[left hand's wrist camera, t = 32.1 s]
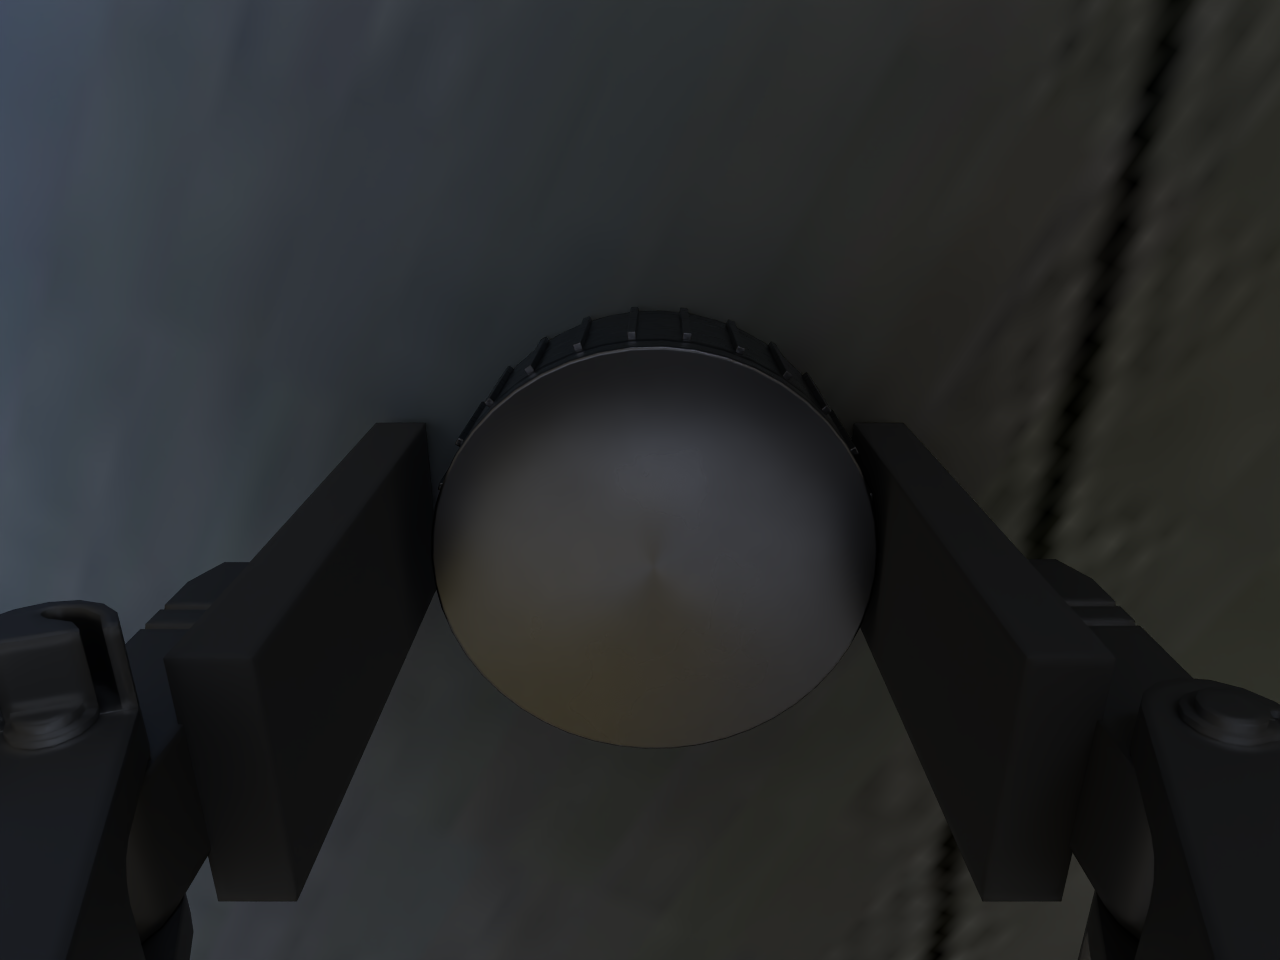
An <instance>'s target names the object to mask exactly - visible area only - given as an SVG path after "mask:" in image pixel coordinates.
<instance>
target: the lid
mask: <svg viewBox="0 0 1280 960" xmlns="http://www.w3.org/2000/svg"><path fill="white" fill-rule="evenodd" d="M455 444H456V445H457V446H459V447H460V448H459V449H458V451H457V452H456V454H455V456H454V458H453V460H452V463H451V465H450V467H449V469H448V470H447V472H446V474H445V475H444V477H443V478H442V480H441V482H440V483H439V487H438V490H440V492H439V495H438V498H437V502H436V506H435V512H434V518H433V524H432V531H431V559H432V567H433V574H434V582H435V586H436V589H437V593H438V597H439V600H440V604H441V607H442V610H443V612H444V614H445V617H446V619H447V621H448V624H449V626H450V628H451V630H452V633H453V634H454V636H455V637H456V639H457V641H458V642H459V644H460V646H461V647H462V649H463V651H464V652H465V654H466V655H467V657H468V658H469V659H470V660H471V662H472V663H473V664H474V665H475V667H476V668H477V669H478V670H479V672H480V673H481V674H482V675H483V676H484V677H485V678H486V679H487V680H488V681H489V682H490V683H491V684H492V685H493V686H494V687H495V688H496V689H497V690H498V691H499V692H500V693H502V694H503V695H504V696H506V697H507V698H508V699H509V700H511V701H512V702H513V703H515V704H516V705H517V706H519V707H520V708H521V709H523V710H525V711H526V712H528V713H530V714H531V715H533V716H535V717H537V718H538V719H540V720H542V721H543V722H545V723H548V724H550V725H552V726H554V727H557V728H559V729H561V730H563V731H565V732H568V733H571V734H574V735H577V736H580V737H583V738H586V739H589V740H593V741H597V742H602V743H607V744H612V745H617V746H625V747H635V748H677V747H685V746H693V745H700V744H705V743H709V742H713V741H717V740H722V739H725V738H728V737H731V736H734V735H737V734H740V733H742V732H745V731H748V730H751V729H753V728H755V727H757V726H759V725H761V724H763V723H765V722H767V721H769V720H771V719H773V718H775V717H776V716H778V715H779V714H781V713H783V712H784V711H786V710H787V709H789V708H790V707H792V706H793V705H795V704H796V703H798V702H799V701H800V700H801V699H802V698H804V697H805V696H806V695H807V694H808V693H810V692H811V691H812V690H813V689H815V688H816V687H817V686H818V685H819V684H820V682H821V681H822V680H823V679H824V678H825V677H826V676H827V675H828V674H829V673H830V672H831V671H832V670H833V669H834V667H835V666H836V665H837V663H838V662H839V661H840V659H841V658H842V656H843V655H844V654H845V652H846V651H847V650H848V648H849V647H850V645H851V643H852V641H853V639H854V637H855V636H856V634H857V632H858V630H859V628H860V626H861V624H862V622H863V619H864V616H865V614H866V611H867V608H868V606H869V603H870V600H871V597H872V592H873V588H874V583H875V579H876V574H877V561H878V534H877V521H876V516H875V512H874V507H873V503H872V500H873V494H872V492H871V490H870V489H869V487H868V485H867V484H866V481H865V479H864V476H863V473H862V471H861V468H860V466H859V465H858V463H857V461H856V459H855V458H854V456H855V455H857V454H858V451H857V449H856V447H855V445H854V444H853V442H852V441H851V439H850V437H849V436H848V434H847V433H846V431H845V429H844V428H843V426H842V425H841V423H840V421H839V420H838V418H837V417H836V415H835V413H834V412H833V410H831V409H830V408H829V406H828V404H827V403H826V401H825V400H824V398H823V396H822V395H821V393H820V392H819V390H818V388H817V387H816V385H815V383H814V382H813V380H812V379H811V377H810V376H809V375H808V373H805V374H804V375H801V374H800V373H799V372H798V371H797V370H796V369H795V368H794V367H793V366H792V365H791V364H790V363H789V362H788V361H787V360H786V359H785V358H784V357H783V356H782V355H781V353H780V351H779V349H778V347H777V345H775V344H774V343H773V342H770V343H769V345H766V344H765V343H764V342H762V341H760V340H759V339H757V338H755V337H753V336H751V335H749V334H748V333H746V332H744V331H742V330H740V329H738V328H737V327H736V324H735V322H734V321H731V320H728V321H727V323H726V324H725V323H722V322H719V321H717V320H714V319H710V318H705V317H701V316H697V315H693V314H688V309H686V308H680V313H678V312H668V311H641V312H639V309H638V307H632V308H631V311H630V313H624V314H618V315H612V316H607V317H604V318H600V319H597V320H594V321H592V320H591V317H587V318H584V319H583V321H582V324H581V325H579V326H577V327H575V328H573V329H570V330H568V331H566V332H564V333H561V334H559V335H558V336H556V337H555V338H553V339H551V340H550V341H549V340H548V338H547V337H545V338H543V339H541V340H540V342H539V344H538V346H537V348H536V349H535V351H533V352H532V353H531V354H530V355H529V356H528V357H526V358H525V359H524V360H523V361H522V362H520V363H519V364H518V365H517V366H516V367H515V368H514V369H513V368H512V367H511V366H509V367H508V368H507V369H506V370H505V371H504V373H503V374H502V376H501V378H500V379H499V381H498V382H497V384H496V385H495V387H494V389H493V390H492V392H491V393H490V395H489V396H488V398H487V399H486V401H485V403H484V402H481V404H480V406H479V407H478V409H477V410H476V412H475V413H474V415H473V416H472V418H471V419H470V421H469V422H468V424H467V425H466V427H465V429H464V430H463V432H462V433H461V435H460V436H459V438H458V439H457V441H456V443H455Z"/></svg>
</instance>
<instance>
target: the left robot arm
mask: <svg viewBox="0 0 1280 960" xmlns="http://www.w3.org/2000/svg"><path fill="white" fill-rule="evenodd" d="M852 442H853V444H854V445H855V447H856V449H857V451H858V454H857V455H855V456H854V458H855V459H856V461H857V463H858V465H859V466H860V468H861V471H862V473H863V476H864V479H865V481H866V484H867V485H868V487H869V489H870V490H871V492H872V494H873V500H872V503H873V507H874V512H875V516H876V521H877V534H878V561H877V574H876V579H875V583H874V588H873V592H872V597H871V600H870V603H869V606H868V608H867V611H866V614H865V616H864V619H863V622H862V624H861V626H860V628H861V630H862V632H863V634H864V637H865V639H866V641H867V643H868V646H869V648H870V650H871V652H872V655H873V657H874V659H875V661H876V664H877V666H878V668H879V670H880V673H881V675H882V677H883V679H884V681H885V684H886V686H887V688H888V690H889V693H890V695H891V697H892V699H893V702H894V704H895V706H896V708H897V711H898V713H899V715H900V717H901V720H902V722H903V724H904V726H905V729H906V731H907V733H908V735H909V738H910V740H911V742H912V744H913V746H914V749H915V751H916V753H917V755H918V758H919V760H920V762H921V764H922V767H923V769H924V771H925V773H926V776H927V778H928V780H929V782H930V785H931V787H932V789H933V791H934V794H935V796H936V798H937V800H938V803H939V805H940V807H941V809H942V812H943V814H944V816H945V818H946V820H947V823H948V825H949V827H950V829H951V832H952V834H953V836H954V838H955V841H956V843H957V845H958V847H959V850H960V852H961V854H962V856H963V859H964V861H965V863H966V865H967V868H968V870H969V872H970V874H971V877H972V879H973V881H974V883H975V885H976V888H977V890H978V892H979V894H980V897H981V899H982V901H1061V900H1062V896H1063V892H1064V887H1065V883H1066V878H1067V874H1068V870H1069V865H1070V861H1071V856H1072V852H1073V854H1074V855H1075V857H1076V859H1077V860H1078V862H1079V864H1080V865H1081V867H1082V869H1083V870H1084V872H1085V874H1086V875H1087V877H1088V879H1089V880H1090V882H1091V884H1092V885H1093V887H1094V889H1095V892H1094V896H1093V900H1092V904H1091V908H1090V912H1089V917H1088V921H1087V925H1086V929H1085V933H1084V937H1083V941H1082V945H1081V949H1080V953H1079V957H1078V960H1280V705H1279V704H1278V703H1276V702H1274V701H1272V700H1270V699H1267V698H1265V697H1262V696H1260V695H1258V694H1255V693H1253V692H1251V691H1248V690H1246V689H1243V688H1240V687H1236V686H1232V685H1228V684H1224V683H1220V682H1216V681H1212V680H1203V679H1193V678H1192V677H1191V676H1190V675H1189V674H1188V673H1187V672H1186V671H1185V670H1184V669H1183V668H1182V667H1181V666H1180V665H1179V664H1178V663H1177V662H1176V661H1175V660H1174V659H1173V658H1172V657H1171V656H1170V655H1169V654H1168V653H1167V652H1166V651H1165V650H1164V649H1163V648H1162V647H1161V646H1160V645H1159V644H1158V643H1157V642H1156V641H1155V640H1154V639H1153V638H1152V637H1151V636H1150V635H1149V634H1148V633H1147V632H1146V631H1145V630H1144V629H1143V628H1141V627H1140V626H1135V621H1134V620H1133V619H1132V618H1131V617H1130V616H1129V615H1128V614H1127V613H1126V612H1125V611H1124V610H1123V609H1122V608H1121V607H1120V606H1116V605H1115V601H1114V600H1113V599H1112V598H1111V597H1110V596H1109V595H1108V594H1107V593H1106V592H1105V591H1104V590H1103V589H1102V588H1101V587H1100V586H1099V585H1098V584H1097V583H1096V582H1095V581H1094V580H1093V579H1092V578H1090V577H1088V576H1086V575H1084V574H1082V573H1080V572H1078V571H1077V570H1075V569H1073V568H1071V567H1069V566H1067V565H1065V564H1064V563H1062V562H1060V561H1058V560H1056V559H1026V558H1025V557H1024V556H1023V554H1022V553H1021V552H1020V551H1019V550H1018V549H1017V548H1016V547H1015V546H1014V544H1013V543H1012V542H1011V541H1010V540H1009V539H1008V538H1007V537H1006V536H1005V535H1004V533H1003V532H1002V531H1001V530H1000V529H999V528H998V527H997V526H996V525H995V524H994V522H993V521H992V520H991V519H990V518H989V517H988V516H987V515H986V514H985V513H984V511H983V510H982V509H981V508H980V507H979V506H978V505H977V504H976V503H975V501H974V500H973V499H972V498H971V497H970V496H969V495H968V494H967V493H966V492H965V490H964V489H963V488H962V487H961V486H960V485H959V484H958V483H957V482H956V481H955V479H954V478H953V477H952V476H951V475H950V474H949V473H948V472H947V471H946V469H945V468H944V467H943V466H942V465H941V464H940V463H939V462H938V461H937V460H936V458H935V457H934V456H933V455H932V454H931V453H930V452H929V451H928V450H927V449H926V447H925V446H924V445H923V444H922V443H921V442H920V441H919V440H918V439H917V438H916V436H915V435H914V434H913V433H912V432H911V431H910V430H909V429H908V428H907V426H906V425H905V424H904V423H854V429H853V440H852ZM433 518H434V511H433V500H432V489H431V478H430V467H429V456H428V446H427V435H426V424H425V423H376V424H375V425H374V426H373V427H372V428H371V429H370V430H369V431H368V433H367V434H366V435H365V436H364V437H363V438H362V439H361V440H360V441H359V442H358V444H357V445H356V446H355V447H354V448H353V449H352V450H351V451H350V452H349V453H348V455H347V456H346V457H345V458H344V459H343V460H342V461H341V462H340V463H339V465H338V466H337V467H336V468H335V469H334V470H333V471H332V472H331V473H330V474H329V476H328V477H327V478H326V479H325V480H324V481H323V482H322V483H321V484H320V485H319V487H318V488H317V489H316V490H315V491H314V492H313V493H312V494H311V495H310V497H309V498H308V499H307V500H306V501H305V502H304V503H303V504H302V505H301V506H300V508H299V509H298V510H297V511H296V512H295V513H294V514H293V515H292V516H291V517H290V519H289V520H288V521H287V522H286V523H285V524H284V525H283V526H282V527H281V529H280V530H279V531H278V532H277V533H276V534H275V535H274V536H273V537H272V538H271V540H270V541H269V542H268V543H267V544H266V545H265V546H264V547H263V548H262V549H261V551H260V552H259V553H258V554H257V555H256V556H255V557H254V558H253V559H252V561H251V562H224V563H222V564H220V565H218V566H217V567H215V568H213V569H211V570H209V571H207V572H206V573H204V574H202V575H200V576H198V577H196V578H194V579H193V580H191V581H189V582H187V583H186V584H185V585H184V586H183V587H182V588H181V589H180V590H179V591H178V592H177V593H176V594H175V595H174V596H173V597H172V598H171V599H170V600H169V601H168V602H167V603H166V604H165V609H164V610H159V611H158V612H157V613H156V614H155V615H154V616H153V617H152V618H151V619H150V620H149V621H148V622H147V623H146V627H145V629H140V630H139V631H138V632H137V633H136V634H135V635H134V636H133V637H132V638H131V639H130V640H129V641H128V642H127V643H126V644H125V642H124V638H123V634H122V630H121V626H120V622H119V618H118V613H117V612H116V611H114V610H113V609H111V608H109V607H108V606H106V605H105V604H102V603H95V602H89V601H82V600H75V601H59V602H47V603H42V604H38V605H33V606H28V607H23V608H19V609H14V610H11V611H8V612H6V613H3V614H0V960H190V952H191V945H192V938H193V925H192V919H191V912H190V908H189V904H188V900H187V896H186V891H187V890H188V888H189V886H190V885H191V883H192V881H193V880H194V878H195V876H196V875H197V873H198V871H199V869H200V868H201V866H202V864H203V863H204V861H205V859H206V858H207V856H208V858H209V862H210V867H211V871H212V875H213V880H214V884H215V889H216V893H217V897H218V901H297V900H298V898H299V896H300V894H301V891H302V889H303V887H304V885H305V882H306V880H307V878H308V876H309V873H310V871H311V869H312V867H313V864H314V862H315V860H316V858H317V855H318V853H319V851H320V849H321V846H322V844H323V842H324V840H325V838H326V835H327V833H328V831H329V829H330V826H331V824H332V822H333V820H334V817H335V815H336V813H337V811H338V808H339V806H340V804H341V802H342V799H343V797H344V795H345V793H346V790H347V788H348V786H349V784H350V781H351V779H352V777H353V775H354V772H355V770H356V768H357V766H358V763H359V761H360V759H361V757H362V755H363V752H364V750H365V748H366V746H367V743H368V741H369V739H370V737H371V734H372V732H373V730H374V728H375V725H376V723H377V721H378V719H379V716H380V714H381V712H382V710H383V707H384V705H385V703H386V701H387V698H388V696H389V694H390V692H391V689H392V687H393V685H394V683H395V680H396V678H397V676H398V674H399V672H400V669H401V667H402V665H403V663H404V660H405V658H406V656H407V654H408V651H409V649H410V647H411V645H412V642H413V640H414V638H415V636H416V633H417V631H418V629H419V627H420V624H421V622H422V620H423V618H424V615H425V613H426V611H427V609H428V606H429V604H430V602H431V600H432V597H433V595H434V593H435V591H436V586H435V582H434V574H433V567H432V559H431V531H432V524H433Z"/></svg>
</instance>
